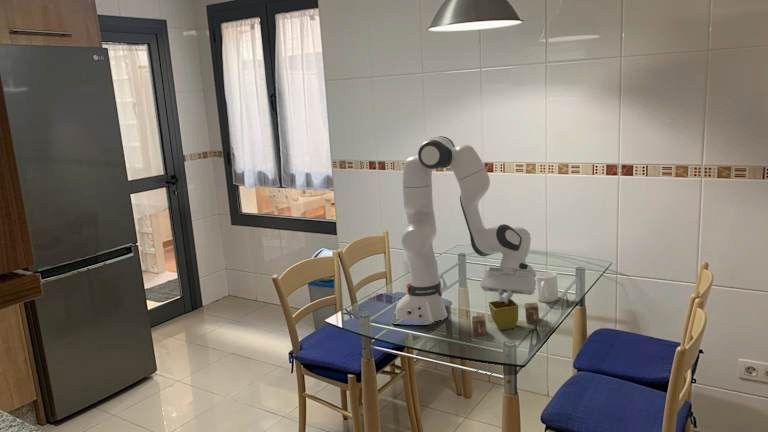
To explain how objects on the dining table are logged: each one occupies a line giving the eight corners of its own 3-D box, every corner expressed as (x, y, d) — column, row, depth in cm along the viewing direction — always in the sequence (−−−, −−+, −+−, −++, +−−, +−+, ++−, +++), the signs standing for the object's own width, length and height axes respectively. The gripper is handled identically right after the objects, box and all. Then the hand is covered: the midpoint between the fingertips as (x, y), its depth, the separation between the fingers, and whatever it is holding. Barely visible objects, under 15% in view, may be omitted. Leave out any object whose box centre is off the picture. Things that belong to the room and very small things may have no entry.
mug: (554, 306, 225) (552, 280, 223) (532, 305, 229) (530, 280, 227) (560, 296, 235) (558, 271, 233) (539, 295, 239) (537, 271, 237)
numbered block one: (473, 337, 206) (472, 321, 205) (474, 332, 210) (472, 316, 209) (486, 336, 205) (484, 320, 204) (486, 331, 209) (484, 315, 208)
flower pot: (490, 325, 215) (487, 301, 213) (513, 321, 215) (511, 298, 214) (497, 333, 206) (494, 309, 205) (521, 329, 207) (518, 305, 205)
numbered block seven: (526, 323, 212) (525, 307, 211) (526, 318, 216) (524, 303, 215) (539, 322, 211) (538, 306, 210) (538, 317, 216) (537, 302, 214)
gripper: (482, 263, 219) (473, 296, 213) (534, 265, 206) (526, 301, 200) (489, 271, 223) (480, 304, 217) (540, 274, 211) (532, 309, 205)
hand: (502, 302), depth 209 cm, fingers closed, pressing on flower pot
